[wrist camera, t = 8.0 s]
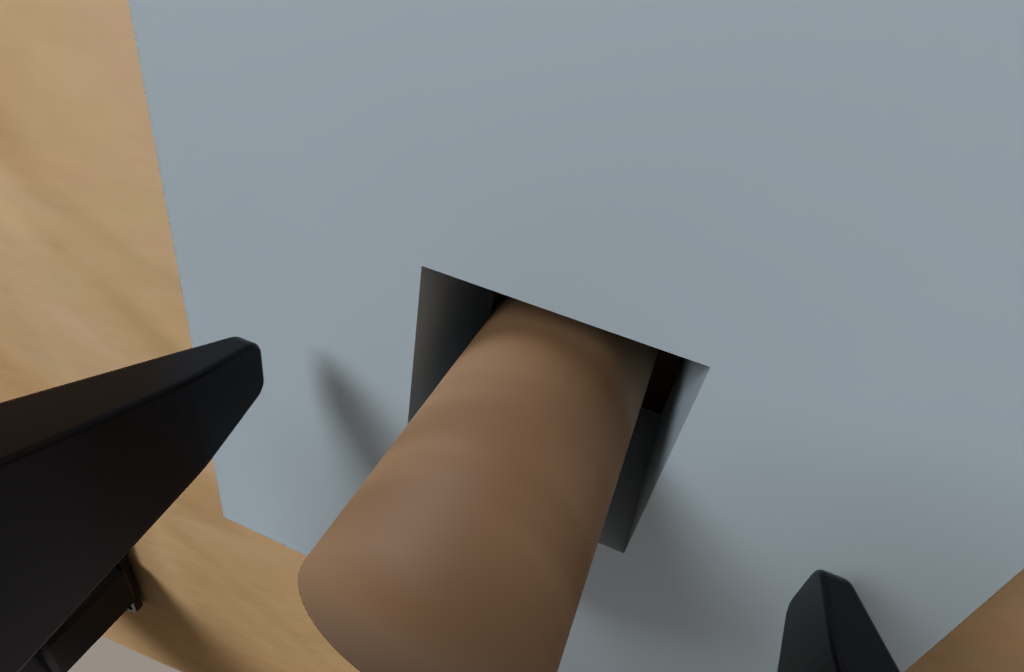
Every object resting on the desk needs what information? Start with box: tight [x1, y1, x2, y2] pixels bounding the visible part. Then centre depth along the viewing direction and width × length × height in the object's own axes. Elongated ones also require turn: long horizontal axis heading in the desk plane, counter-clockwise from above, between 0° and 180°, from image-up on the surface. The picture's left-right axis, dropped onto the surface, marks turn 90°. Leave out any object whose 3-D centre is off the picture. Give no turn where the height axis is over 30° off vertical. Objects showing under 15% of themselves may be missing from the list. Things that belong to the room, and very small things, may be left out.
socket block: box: [128, 0, 1024, 672], centre depth 12 cm, size 14×14×4 cm
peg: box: [298, 296, 659, 672], centre depth 10 cm, size 3×3×8 cm
